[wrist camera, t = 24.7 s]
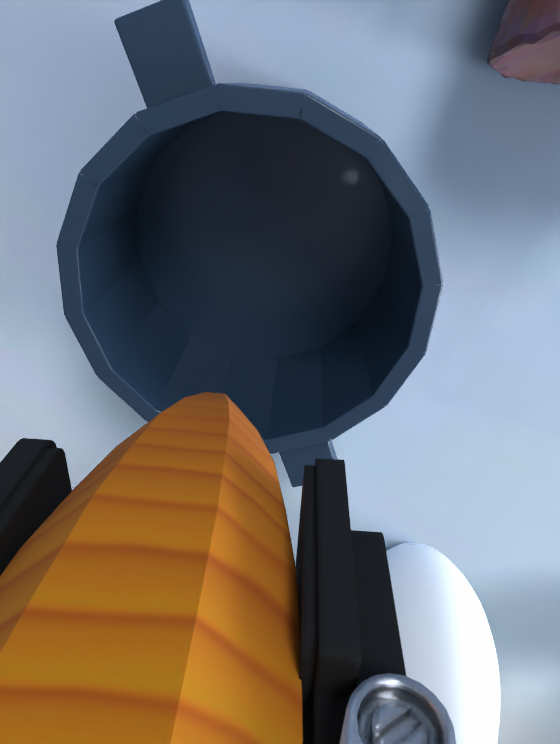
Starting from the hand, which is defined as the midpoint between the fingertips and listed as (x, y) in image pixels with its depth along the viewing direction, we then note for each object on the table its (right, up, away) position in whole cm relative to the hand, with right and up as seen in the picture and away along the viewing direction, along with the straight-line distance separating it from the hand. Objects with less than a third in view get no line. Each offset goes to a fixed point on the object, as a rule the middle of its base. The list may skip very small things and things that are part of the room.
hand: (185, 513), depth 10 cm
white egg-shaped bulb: (+11, -10, +28) cm, 32 cm away
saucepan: (+1, +10, +18) cm, 20 cm away
